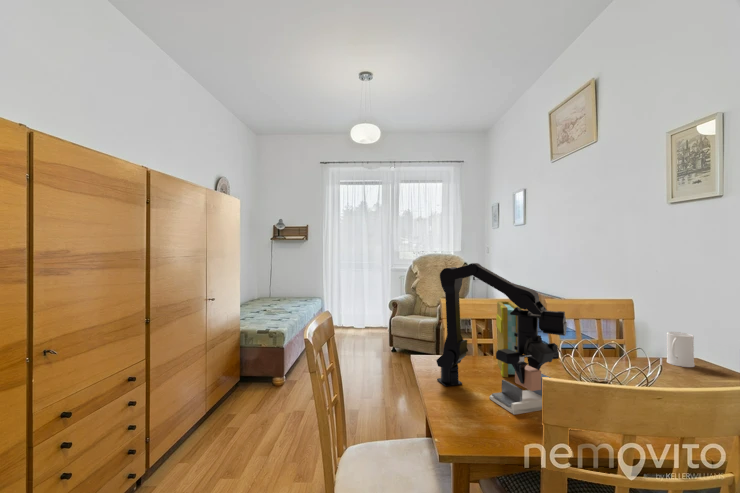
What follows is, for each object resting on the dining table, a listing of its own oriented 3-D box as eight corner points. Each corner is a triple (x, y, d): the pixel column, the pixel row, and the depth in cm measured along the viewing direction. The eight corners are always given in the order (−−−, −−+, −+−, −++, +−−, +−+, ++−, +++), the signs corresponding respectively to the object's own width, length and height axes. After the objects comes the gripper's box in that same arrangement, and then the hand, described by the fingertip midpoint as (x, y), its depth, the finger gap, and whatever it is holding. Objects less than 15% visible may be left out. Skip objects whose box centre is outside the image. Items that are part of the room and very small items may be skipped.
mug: (684, 370, 134) (683, 338, 134) (657, 363, 142) (657, 333, 142) (699, 365, 139) (698, 335, 140) (672, 359, 147) (672, 330, 147)
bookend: (491, 395, 108) (491, 381, 108) (504, 393, 109) (503, 379, 109) (509, 406, 100) (509, 391, 100) (522, 404, 101) (522, 389, 101)
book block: (515, 382, 109) (514, 364, 109) (524, 381, 110) (524, 363, 111) (531, 391, 103) (531, 372, 103) (541, 389, 104) (541, 370, 104)
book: (522, 378, 126) (521, 308, 126) (502, 376, 127) (501, 307, 127) (512, 363, 142) (512, 301, 143) (495, 362, 144) (495, 301, 144)
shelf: (489, 398, 108) (489, 377, 108) (539, 391, 114) (539, 371, 114) (514, 414, 98) (513, 391, 98) (568, 405, 103) (567, 383, 104)
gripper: (520, 339, 96) (520, 396, 96) (574, 334, 102) (574, 389, 102) (494, 330, 107) (494, 382, 107) (544, 326, 113) (544, 375, 112)
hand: (527, 382), depth 107 cm, fingers closed on book block, 3 cm apart
